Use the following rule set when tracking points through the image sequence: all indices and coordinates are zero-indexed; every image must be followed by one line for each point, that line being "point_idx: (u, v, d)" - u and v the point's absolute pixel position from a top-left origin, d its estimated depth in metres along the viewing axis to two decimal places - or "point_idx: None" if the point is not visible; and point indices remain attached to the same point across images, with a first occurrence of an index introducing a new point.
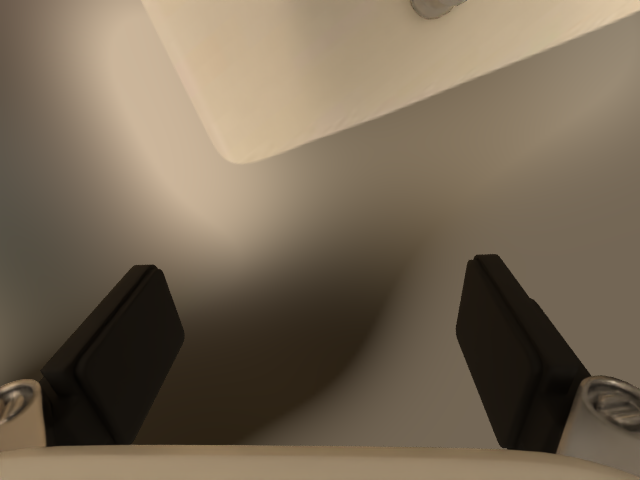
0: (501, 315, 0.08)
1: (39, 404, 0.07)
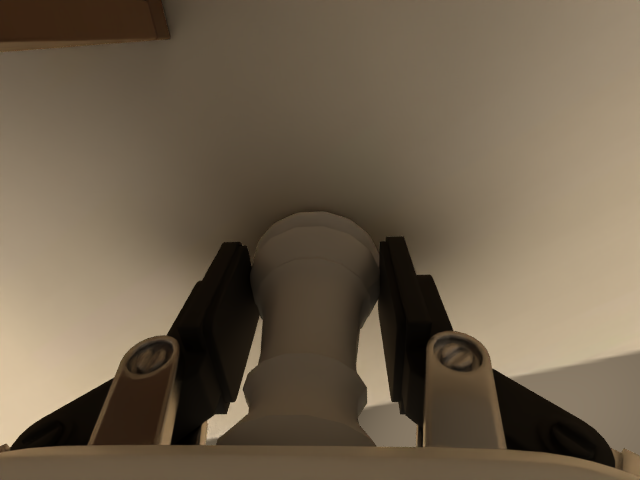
0: (388, 285, 0.09)
1: (173, 367, 0.07)
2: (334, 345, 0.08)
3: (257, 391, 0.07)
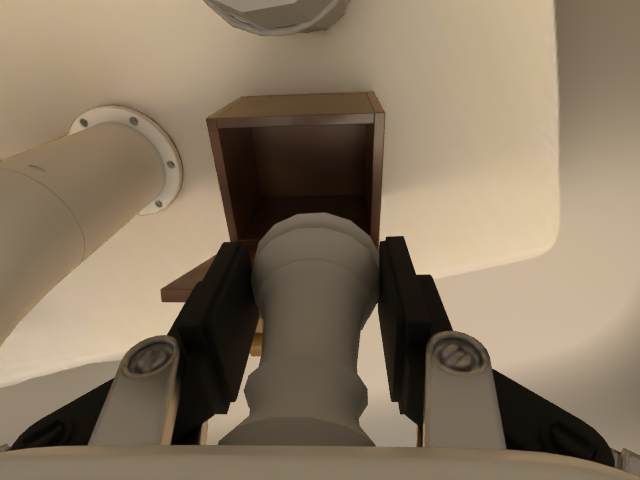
0: (388, 285, 0.09)
1: (174, 367, 0.07)
2: (335, 346, 0.08)
3: (258, 393, 0.07)
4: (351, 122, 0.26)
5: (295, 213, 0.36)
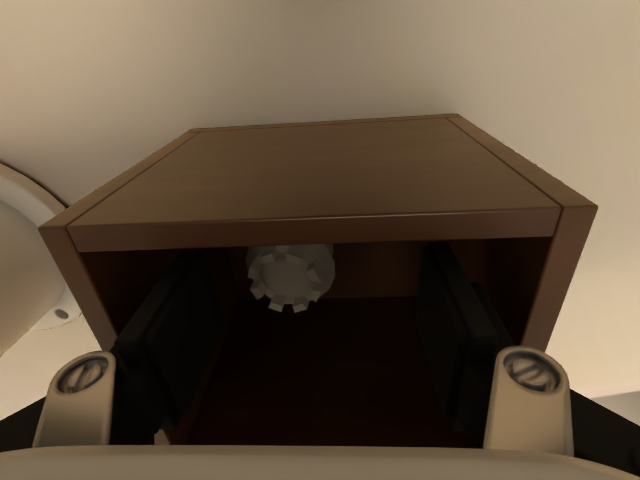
0: (441, 295, 0.08)
1: (111, 378, 0.07)
2: None
3: None
4: (482, 234, 0.08)
5: (303, 354, 0.19)
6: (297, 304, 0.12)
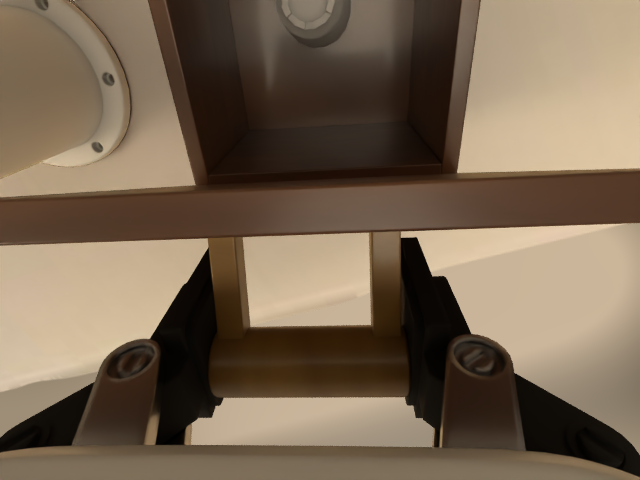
0: (404, 287, 0.09)
1: (155, 369, 0.07)
2: None
3: None
4: None
5: (304, 142, 0.23)
6: (317, 19, 0.16)
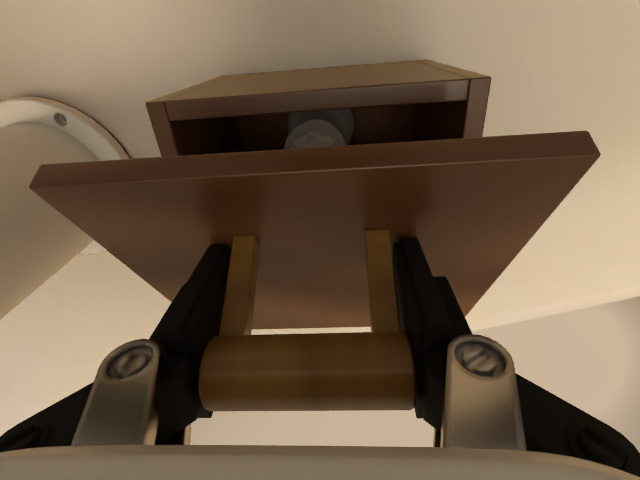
0: (405, 287, 0.09)
1: (154, 369, 0.07)
2: None
3: None
4: (423, 99, 0.14)
5: None
6: None
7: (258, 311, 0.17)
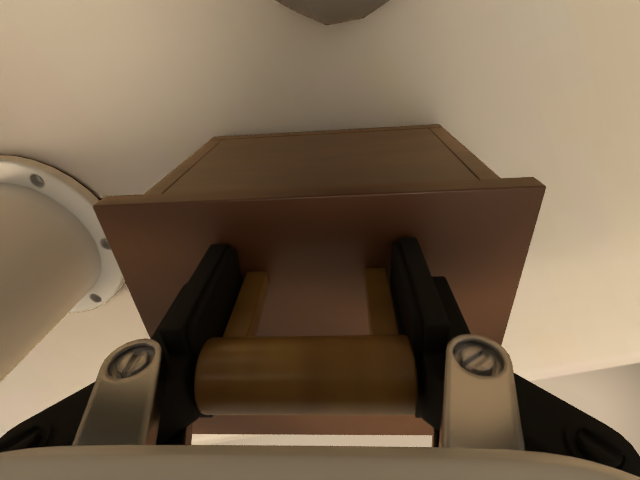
0: (404, 287, 0.09)
1: (156, 369, 0.07)
2: None
3: None
4: None
5: None
6: None
7: None
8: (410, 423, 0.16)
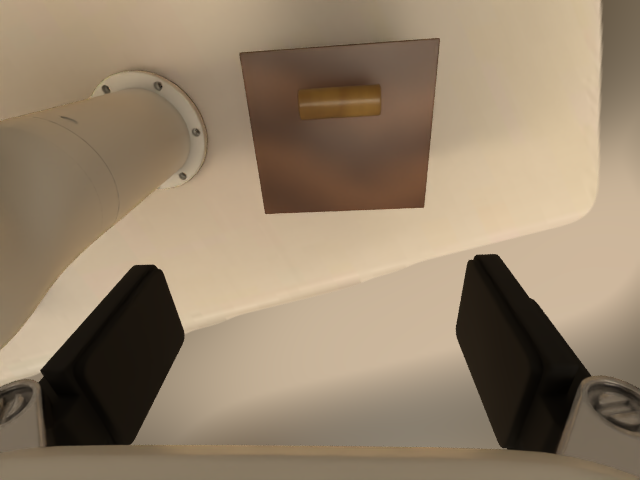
0: (501, 315, 0.08)
1: (39, 404, 0.07)
2: None
3: None
4: None
5: None
6: None
7: (303, 181, 0.29)
8: (387, 198, 0.29)
